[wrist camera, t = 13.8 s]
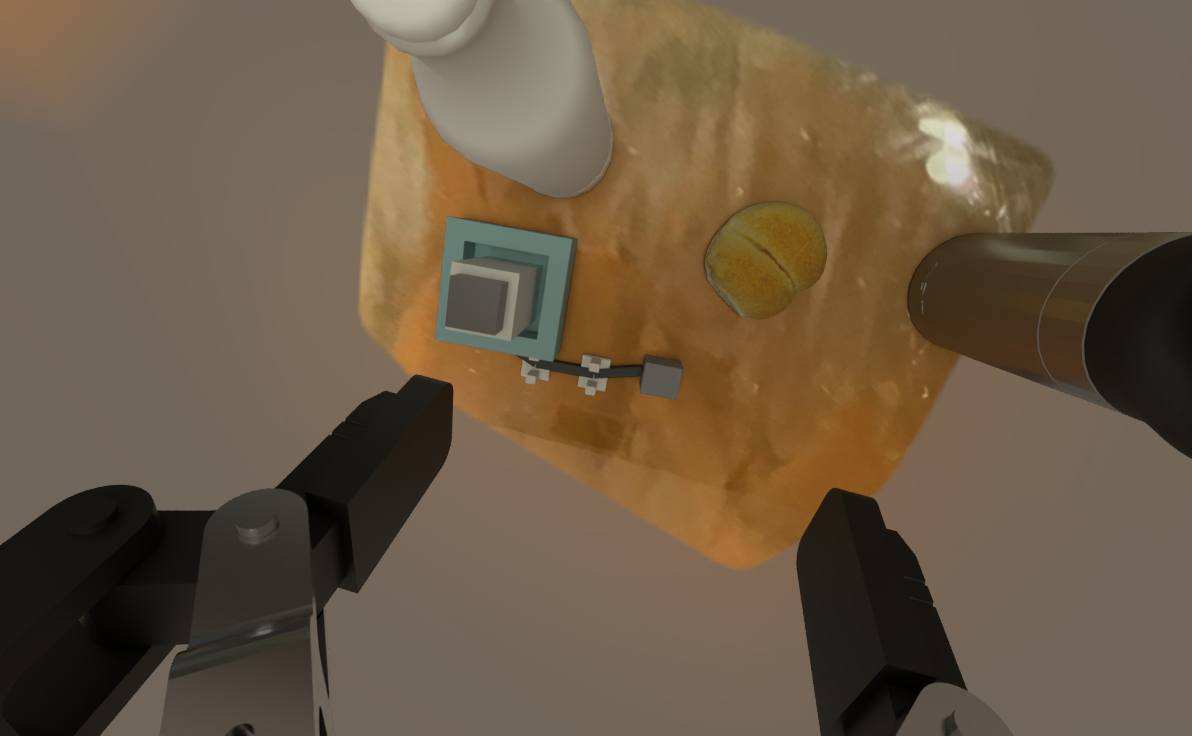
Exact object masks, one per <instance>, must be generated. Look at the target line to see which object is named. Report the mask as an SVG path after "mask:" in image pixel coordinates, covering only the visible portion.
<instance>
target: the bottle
mask: <svg viewBox="0 0 1192 736" xmlns="http://www.w3.org/2000/svg"><path fill="white" fill-rule="evenodd" d="M351 2H352V3H353V5H354V6H355V8H356V9H357V10H358V11H359V12H361V13H362V14H363V16H364V17H365V19H366V20H367V22H368V23H369V25H370V26H371V28H372V29H373V30H374V31H375V32H376V33H377V34H379V35H380V36H381V37H382V38H384V39H385V40H386V41H388V42H389V43H390V44H391V45H393V46H394V47H395V48H396V49H398V50H399V51H401V52H404V53H408V54H411V55H412V67H413V73H414V77H415V80H416V84H417V88H418V91H419V95H420V98H421V102H422V106H423V108H424V111H425V113H426V115H427V117H428V118H429V120H430V121H431V123H432V124H433V126H434V127H435V129H436V130H437V132H438V133H439V135H440V136H441V138H442V139H443V141H444V142H446V143H447V144H448V145H449V146H451V147H452V148H453V149H454V150H456V151H457V152H458V153H460V154H461V155H462V156H463V157H465V158H466V159H467V160H469V161H471V162H473V163H476V164H478V165H480V166H482V167H485V168H487V169H489V170H491V171H494V172H496V173H498V174H500V175H503V176H505V177H507V178H509V179H512V180H514V181H516V182H518V183H521V184H523V185H525V186H527V187H530V188H532V189H533V190H534V191H535V192H537V193H541V194H544V195H547V196H550V197H553V198H568V197H576V196H578V195H581V194H583V193H585V192H587V191H590V190H591V189H592V188H593V187H594V186H595V185H596V184H597V183H598V182H599V181H600V180H601V179H602V178H603V177H604V175H605V173H606V170H607V168H608V166H609V164H610V162H611V157H612V149H613V141H614V138H613V133H612V128H611V123H610V118H609V116H608V114H607V112H606V107H605V103H604V99H603V94H602V90H601V86H600V81H599V77H598V73H597V68H596V64H595V60H594V55H593V51H592V47H591V42H590V38H589V34H588V31H587V29H586V27H585V26H584V24H583V22H582V21H581V19H580V17H579V15H578V14H577V12H576V10H575V9H574V7H573V5H572V3H571V2H570V1H569V0H351Z"/></svg>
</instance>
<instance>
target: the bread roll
mask: <svg viewBox="0 0 1192 736" xmlns="http://www.w3.org/2000/svg"><path fill="white" fill-rule="evenodd" d="M826 259H827V246H826V241H825V238H824V235H823V231H822V229H821V227H820V225H819V224H818V222H817V221H816V220H815V218H814V217H813V216H812V215H811V214H810V213H809V212H808V211H806V210H804V209H802V208H800V207H798V206H795V205H792V204H788V203H782V202H767V203H760V204H756V205H753V206H750V207H747V208H745V209H743V210H741V211H739V212H738V213H736V214H735V215H733V216H732V217H731V218H730V219H729V221H728V222H727V223H726V224H725V225H724V226H723V227H722V228H721V229H720V230H719V231H718V232H717V234H716V235H715V236H714V238H713V239H712V241H711V243H710V245H709V247H708V250H707V253H706V256H705V262H704V263H705V269H706V274H707V279H708V281H709V282H710V284H711V285H712V286H713V288H714V289H715V290H716V292H717V293H718V294H719V295H720V296H721V297H722V298H723V299H724V301H725V302H726V303H727V304H728V305H730V306H731V307H732V308H733V310H734V311H735V312H736V313H738V314H739V315H740V316H741V317H751V318H755V319H764V318H768V317H771V316H774V315H776V314H778V313H780V312H781V311H783V310H784V309H785V308H786V307H787V306H788V305H789V304H790V303H791V301H792V299H793V296H794V294H795V293H796V292H797V291H799V290H804V289H807V288H809V287H811V286H812V285H814V284H815V283H816V282H817V281H818V280H819V279H820V277H821V275H822V273H823V271H824V267H825V264H826Z"/></svg>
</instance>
